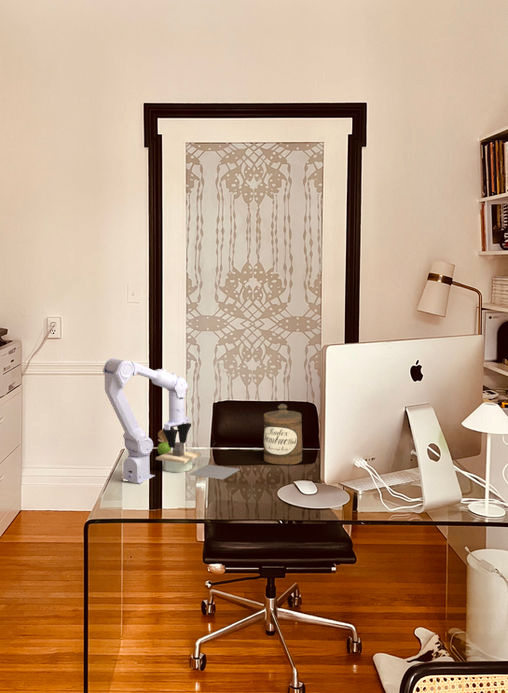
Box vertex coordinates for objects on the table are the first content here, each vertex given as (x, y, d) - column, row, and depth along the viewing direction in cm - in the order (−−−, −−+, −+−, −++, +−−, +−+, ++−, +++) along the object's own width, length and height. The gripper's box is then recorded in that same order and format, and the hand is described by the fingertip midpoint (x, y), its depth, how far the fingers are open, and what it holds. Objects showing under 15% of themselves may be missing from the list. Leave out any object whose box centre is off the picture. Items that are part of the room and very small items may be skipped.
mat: (223, 480, 249) (223, 479, 249) (188, 475, 255) (188, 474, 255) (240, 470, 262) (240, 469, 262) (207, 465, 268) (207, 464, 267)
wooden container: (258, 463, 270) (258, 406, 268) (270, 453, 284) (270, 399, 282) (296, 467, 266) (296, 409, 263) (306, 456, 280) (306, 401, 277)
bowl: (182, 474, 256) (182, 462, 256) (158, 471, 261) (158, 459, 260) (196, 467, 265) (196, 455, 265) (173, 464, 270) (173, 452, 269)
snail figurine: (172, 457, 280) (172, 427, 278) (156, 457, 280) (156, 427, 278) (174, 453, 285) (174, 424, 284) (158, 453, 285) (158, 424, 284)
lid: (184, 463, 254) (184, 448, 254) (155, 459, 260) (155, 445, 259) (200, 455, 265) (200, 441, 265) (173, 451, 270) (172, 438, 270)
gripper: (175, 413, 252) (176, 450, 254) (196, 406, 265) (196, 441, 267) (158, 411, 255) (159, 448, 257) (179, 404, 268) (180, 439, 270)
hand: (177, 445), depth 262 cm, fingers open, 7 cm apart
